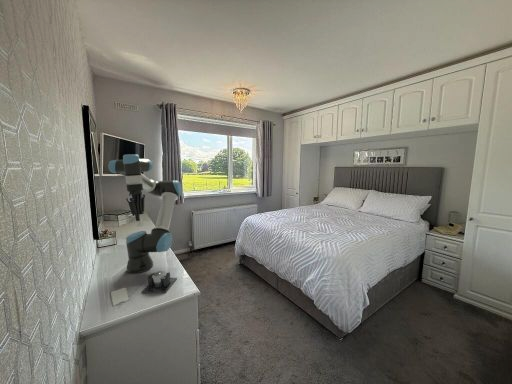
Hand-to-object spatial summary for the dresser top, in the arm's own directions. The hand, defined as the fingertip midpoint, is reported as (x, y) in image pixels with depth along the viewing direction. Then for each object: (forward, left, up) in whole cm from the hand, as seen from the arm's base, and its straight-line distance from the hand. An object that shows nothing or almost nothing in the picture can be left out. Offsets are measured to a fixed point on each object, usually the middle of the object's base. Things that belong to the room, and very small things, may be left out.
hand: (139, 226), depth 117 cm
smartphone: (+14, -6, -33) cm, 36 cm away
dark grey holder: (+5, +11, -32) cm, 34 cm away
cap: (+5, +11, -32) cm, 34 cm away
